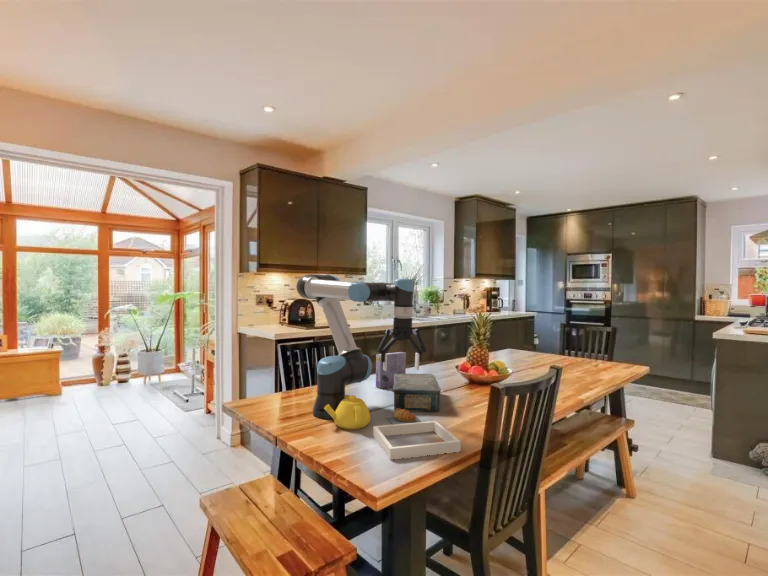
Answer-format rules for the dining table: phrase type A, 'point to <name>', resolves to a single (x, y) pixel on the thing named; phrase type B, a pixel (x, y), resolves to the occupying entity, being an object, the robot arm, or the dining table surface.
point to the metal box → (416, 392)
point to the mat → (395, 421)
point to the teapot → (350, 413)
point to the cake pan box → (390, 369)
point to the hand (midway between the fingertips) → (401, 369)
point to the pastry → (404, 415)
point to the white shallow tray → (420, 449)
